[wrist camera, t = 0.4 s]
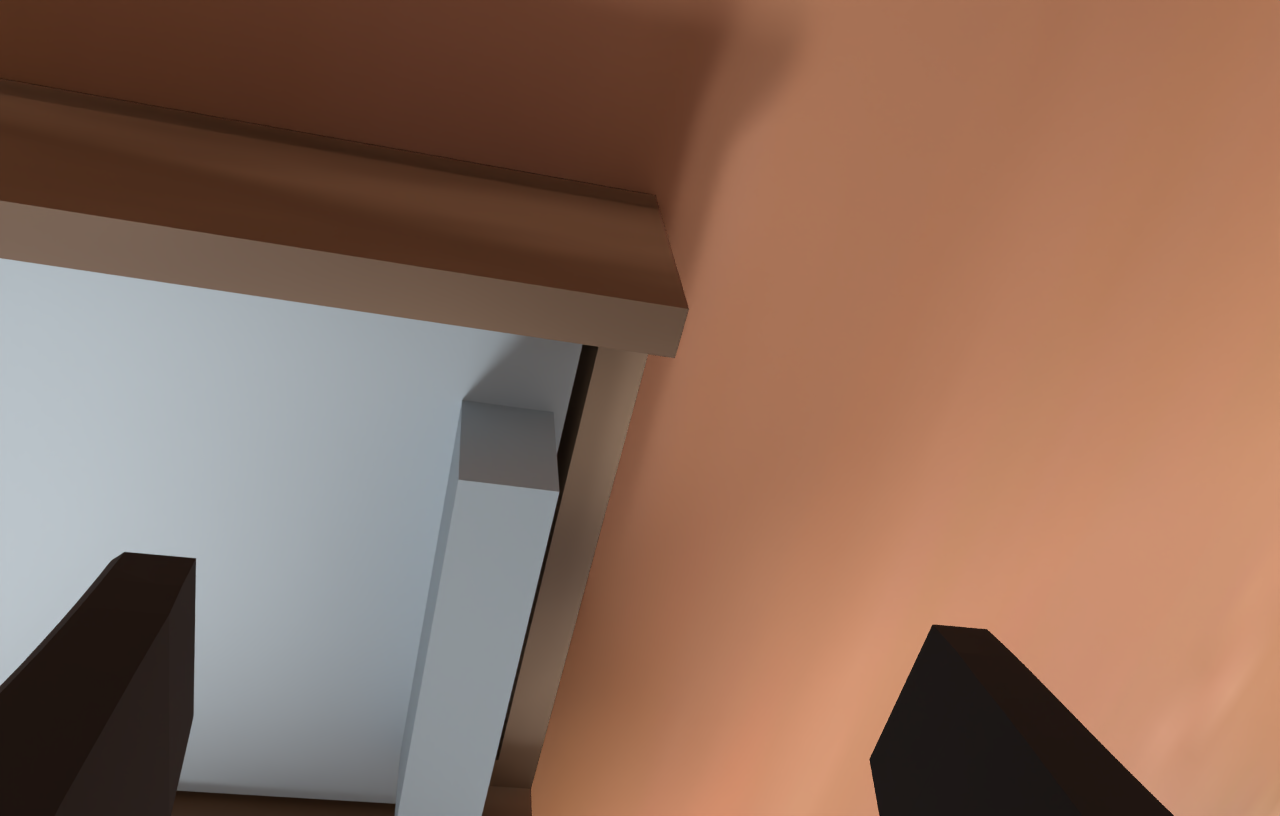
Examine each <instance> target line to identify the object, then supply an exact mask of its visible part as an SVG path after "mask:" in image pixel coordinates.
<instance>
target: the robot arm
mask: <svg viewBox="0 0 1280 816" xmlns="http://www.w3.org/2000/svg"><path fill="white" fill-rule="evenodd" d="M195 597H196V558H188V557H177V556H166V555H155V554H144V553H133V552H123V553H122V554H120V555H119V556H117V557H116V558H114V559H113V560H111V561H110V562H109V564H108V565H107V566H106V567H105V569H104V570H103V571H102V572H101V574H100V575H99V576H98V577H97V579H96V580H95V581H94V582H93V583H92V585H91V586H90V587H89V588H88V589H87V591H86V592H85V593H84V594H83V595H82V597H81V598H80V599H79V600H78V601H77V602H76V604H75V605H74V606H73V607H72V608H71V609H70V611H69V612H68V613H67V614H66V615H65V616H64V617H63V619H62V620H61V621H60V622H59V623H58V624H57V625H56V627H55V628H54V629H53V630H52V631H51V632H50V633H49V634H48V635H47V636H46V638H45V639H44V640H43V641H42V642H41V643H40V644H39V645H38V646H37V647H36V649H35V650H34V651H33V652H32V653H31V654H30V655H29V656H28V657H27V658H26V660H25V661H24V662H23V663H22V664H21V665H20V666H19V667H18V668H17V669H16V670H15V671H14V672H13V673H12V674H11V675H10V676H9V677H8V678H7V679H6V680H5V681H4V682H3V683H2V684H1V685H0V816H171V813H172V808H173V804H174V800H175V796H176V791H177V787H178V783H179V779H180V775H181V770H182V766H183V761H184V757H185V752H186V748H187V744H188V739H189V735H190V730H191V726H192V721H193V717H194V660H195ZM870 765H871V770H872V776H873V782H874V787H875V793H876V799H877V804H878V810H879V815H880V816H1174V815H1173V814H1172V813H1171V812H1170V811H1169V810H1167V809H1166V808H1165V807H1164V806H1163V805H1162V804H1161V803H1160V802H1159V801H1158V800H1157V799H1156V798H1155V797H1154V796H1153V795H1152V794H1151V793H1150V792H1149V791H1148V790H1147V789H1146V788H1145V787H1144V786H1143V785H1142V784H1141V783H1140V782H1139V781H1138V780H1137V779H1136V778H1135V777H1134V776H1133V775H1132V774H1131V773H1130V772H1129V771H1128V770H1127V769H1126V768H1125V767H1124V766H1123V765H1122V764H1121V763H1120V762H1119V761H1118V760H1117V759H1116V758H1115V757H1114V756H1113V755H1112V754H1111V753H1110V752H1109V751H1108V750H1107V749H1106V748H1105V747H1104V746H1103V745H1102V744H1101V743H1100V742H1099V741H1098V740H1097V739H1096V738H1095V737H1094V736H1093V735H1092V734H1091V733H1090V732H1089V731H1088V730H1087V729H1086V728H1085V727H1084V726H1083V724H1082V723H1081V722H1080V721H1079V720H1078V719H1077V718H1076V717H1075V716H1074V715H1073V714H1072V713H1071V712H1070V711H1069V710H1068V709H1067V708H1066V707H1065V706H1064V705H1063V704H1062V703H1061V702H1060V701H1059V700H1058V699H1057V698H1056V697H1055V696H1054V695H1053V694H1052V693H1051V692H1050V691H1049V690H1048V689H1047V688H1046V687H1045V686H1044V685H1043V684H1042V683H1041V682H1040V681H1039V679H1038V678H1037V677H1036V676H1035V675H1034V674H1033V673H1032V672H1031V671H1030V670H1029V669H1028V668H1027V667H1026V666H1025V665H1024V664H1023V663H1022V662H1021V661H1020V660H1019V659H1018V658H1017V657H1016V656H1015V655H1014V654H1013V653H1012V652H1010V651H1009V650H1008V649H1007V648H1006V647H1005V646H1004V645H1003V644H1002V643H1001V642H1000V641H999V640H998V639H997V638H996V637H995V636H994V635H992V634H991V633H990V632H989V631H988V630H987V629H977V628H966V627H955V626H944V625H932V627H931V629H930V631H929V633H928V636H927V638H926V640H925V642H924V644H923V646H922V648H921V651H920V653H919V655H918V657H917V659H916V661H915V663H914V665H913V668H912V670H911V672H910V674H909V676H908V678H907V680H906V683H905V685H904V687H903V689H902V691H901V693H900V695H899V697H898V700H897V702H896V704H895V706H894V708H893V710H892V712H891V715H890V717H889V719H888V721H887V723H886V725H885V727H884V729H883V732H882V734H881V736H880V738H879V740H878V742H877V744H876V747H875V749H874V751H873V753H872V755H871V757H870Z"/></svg>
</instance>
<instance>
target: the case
mask: <svg viewBox="0 0 1280 816" xmlns="http://www.w3.org/2000/svg"><path fill="white" fill-rule="evenodd" d="M0 258H2V259H9V260H15V261H22V262H29V263H36V264H43V265H49V266H56V267H63V268H70V269H76V270H83V271H90V272H97V273H103V274H110V275H117V276H124V277H130V278H137V279H144V280H151V281H157V282H164V283H171V284H178V285H184V286H191V287H198V288H205V289H212V290H218V291H225V292H232V293H239V294H245V295H252V296H259V297H266V298H272V299H279V300H286V301H293V302H299V303H306V304H313V305H320V306H326V307H333V308H340V309H347V310H353V311H360V312H367V313H374V314H381V315H387V316H394V317H401V318H408V319H414V320H421V321H428V322H435V323H441V324H448V325H455V326H462V327H468V328H475V329H482V330H489V331H495V332H502V333H509V334H516V335H522V336H529V337H536V338H543V339H550V340H556V341H563V342H570V343H577V344H583V345H582V349H581V353H580V358H579V362H578V366H577V370H576V375H575V379H574V383H573V387H572V392H571V396H570V400H569V405H568V409H567V413H566V417H565V422H564V426H563V430H562V435H561V439H560V443H559V447H558V452H557V466H558V479H559V496H558V500H557V504H556V508H555V512H554V517H553V521H552V525H551V529H550V533H549V537H548V542H547V546H546V550H545V554H544V558H543V562H542V567H541V571H540V575H539V579H538V583H537V587H536V592H535V596H534V600H533V604H532V608H531V612H530V617H529V621H528V625H527V629H526V633H525V637H524V642H523V646H522V650H521V654H520V658H519V662H518V667H517V671H516V675H515V679H514V683H513V687H512V692H511V696H510V700H509V704H508V708H507V712H506V717H505V721H504V725H503V729H502V733H501V737H500V741H499V746H498V750H497V754H496V758H495V762H494V766H493V771H492V775H491V779H490V783H489V787H488V791H487V796H486V800H485V804H484V808H483V812H482V816H532V808H531V786H532V783H533V779H534V775H535V772H536V768H537V764H538V761H539V757H540V753H541V749H542V746H543V742H544V738H545V735H546V731H547V727H548V723H549V720H550V716H551V712H552V709H553V705H554V701H555V697H556V694H557V690H558V686H559V683H560V679H561V675H562V672H563V668H564V664H565V660H566V657H567V653H568V649H569V646H570V642H571V638H572V634H573V631H574V627H575V623H576V620H577V616H578V612H579V609H580V605H581V601H582V597H583V594H584V590H585V586H586V583H587V579H588V575H589V571H590V568H591V564H592V560H593V557H594V553H595V549H596V545H597V542H598V538H599V534H600V531H601V527H602V523H603V520H604V516H605V512H606V508H607V505H608V501H609V497H610V494H611V490H612V486H613V482H614V479H615V475H616V471H617V468H618V464H619V460H620V456H621V453H622V449H623V445H624V442H625V438H626V434H627V431H628V427H629V423H630V419H631V416H632V412H633V408H634V405H635V401H636V397H637V393H638V390H639V386H640V382H641V379H642V375H643V371H644V368H645V364H646V360H647V356H648V354H651V355H658V356H664V357H671V358H675V356H676V352H677V349H678V345H679V342H680V338H681V335H682V331H683V328H684V324H685V321H686V317H687V314H688V310H689V308H688V305H687V301H686V298H685V295H684V291H683V288H682V284H681V281H680V277H679V274H678V271H677V267H676V264H675V260H674V257H673V254H672V250H671V247H670V243H669V240H668V236H667V233H666V230H665V226H664V223H663V219H662V216H661V213H660V209H659V206H658V202H657V199H656V195H650V194H645V193H639V192H633V191H628V190H622V189H617V188H611V187H605V186H600V185H594V184H588V183H583V182H577V181H572V180H566V179H560V178H555V177H549V176H544V175H538V174H532V173H527V172H521V171H516V170H510V169H504V168H499V167H493V166H487V165H482V164H476V163H471V162H465V161H459V160H454V159H448V158H443V157H437V156H431V155H426V154H420V153H415V152H409V151H403V150H398V149H392V148H386V147H381V146H375V145H370V144H364V143H358V142H353V141H347V140H342V139H336V138H330V137H325V136H319V135H313V134H308V133H302V132H297V131H291V130H285V129H280V128H274V127H269V126H263V125H257V124H252V123H246V122H241V121H235V120H229V119H224V118H218V117H212V116H207V115H201V114H196V113H190V112H184V111H179V110H173V109H168V108H162V107H156V106H151V105H145V104H140V103H134V102H128V101H123V100H117V99H111V98H106V97H100V96H95V95H89V94H83V93H78V92H72V91H67V90H61V89H55V88H50V87H44V86H39V85H33V84H27V83H22V82H16V81H10V80H5V79H0ZM395 805H396V804H392V803H376V802H359V801H342V800H326V799H309V798H292V797H276V796H259V795H242V794H226V793H209V792H192V791H176V796H175V800H174V804H173V808H172V813H171V816H395Z"/></svg>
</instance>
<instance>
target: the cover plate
mask: <svg viewBox="0 0 1280 816" xmlns="http://www.w3.org/2000/svg"><path fill="white" fill-rule="evenodd" d="M582 345H583V344H577V343H570V342H563V341H556V340H550V339H543V338H536V337H529V336H522V335H516V334H509V333H502V332H495V331H489V330H482V329H475V328H468V327H462V326H455V325H448V324H441V323H435V322H428V321H421V320H414V319H408V318H401V317H394V316H387V315H381V314H374V313H367V312H360V311H353V310H347V309H340V308H333V307H326V306H320V305H313V304H306V303H299V302H293V301H286V300H279V299H272V298H266V297H259V296H252V295H245V294H239V293H232V292H225V291H218V290H212V289H205V288H198V287H191V286H184V285H178V284H171V283H164V282H157V281H151V280H144V279H137V278H130V277H124V276H117V275H110V274H103V273H97V272H90V271H83V270H76V269H70V268H63V267H56V266H49V265H43V264H36V263H29V262H22V261H15V260H9V259H2V258H0V685H1V684H2V683H3V682H4V681H5V680H6V679H7V678H8V677H9V676H10V675H11V674H12V673H13V672H14V671H15V670H16V669H17V668H18V667H19V666H20V665H21V664H22V663H23V662H24V661H25V660H26V658H27V657H28V656H29V655H30V654H31V653H32V652H33V651H34V650H35V649H36V647H37V646H38V645H39V644H40V643H41V642H42V641H43V640H44V639H45V638H46V636H47V635H48V634H49V633H50V632H51V631H52V630H53V629H54V628H55V627H56V625H57V624H58V623H59V622H60V621H61V620H62V619H63V617H64V616H65V615H66V614H67V613H68V612H69V611H70V609H71V608H72V607H73V606H74V605H75V604H76V602H77V601H78V600H79V599H80V598H81V597H82V595H83V594H84V593H85V592H86V591H87V589H88V588H89V587H90V586H91V585H92V583H93V582H94V581H95V580H96V579H97V577H98V576H99V575H100V574H101V572H102V571H103V570H104V569H105V567H106V566H107V565H108V564H109V562H110V561H111V560H113V559H114V558H116V557H117V556H119V555H120V554H122V553H123V552H133V553H144V554H155V555H166V556H177V557H188V558H196V597H195V660H194V717H193V721H192V726H191V730H190V735H189V739H188V744H187V748H186V752H185V757H184V761H183V766H182V770H181V775H180V779H179V783H178V787H177V791H192V792H209V793H226V794H242V795H259V796H276V797H292V798H309V799H326V800H342V801H359V802H376V803H392V804H396V805H395V816H482V812H483V808H484V804H485V800H486V796H487V791H488V787H489V783H490V779H491V775H492V771H493V766H494V762H495V758H496V754H497V750H498V746H499V741H500V737H501V733H502V729H503V725H504V721H505V717H506V712H507V708H508V704H509V700H510V696H511V692H512V687H513V683H514V679H515V675H516V671H517V667H518V662H519V658H520V654H521V650H522V646H523V642H524V637H525V633H526V629H527V625H528V621H529V617H530V612H531V608H532V604H533V600H534V596H535V592H536V587H537V583H538V579H539V575H540V571H541V567H542V562H543V558H544V554H545V550H546V546H547V542H548V537H549V533H550V529H551V525H552V521H553V517H554V512H555V508H556V504H557V500H558V496H559V479H558V466H557V452H558V447H559V443H560V439H561V435H562V430H563V426H564V422H565V417H566V413H567V409H568V405H569V400H570V396H571V392H572V387H573V383H574V379H575V375H576V370H577V366H578V362H579V358H580V353H581V349H582Z"/></svg>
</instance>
